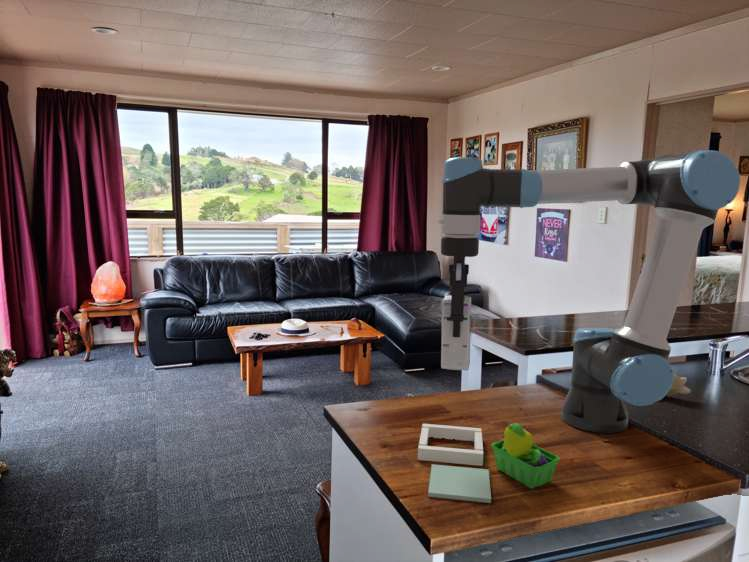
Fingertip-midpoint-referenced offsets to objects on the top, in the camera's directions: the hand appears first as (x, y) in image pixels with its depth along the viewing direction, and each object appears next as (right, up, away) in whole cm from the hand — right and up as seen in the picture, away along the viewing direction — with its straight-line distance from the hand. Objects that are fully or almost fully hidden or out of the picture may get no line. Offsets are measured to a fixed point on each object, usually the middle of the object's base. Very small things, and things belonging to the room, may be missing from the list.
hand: (455, 347), depth 116 cm
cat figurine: (+62, -19, +39) cm, 76 cm away
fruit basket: (+11, -24, -8) cm, 28 cm away
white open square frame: (-1, -22, +3) cm, 22 cm away
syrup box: (0, -4, +1) cm, 4 cm away
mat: (-1, -24, -12) cm, 27 cm away
